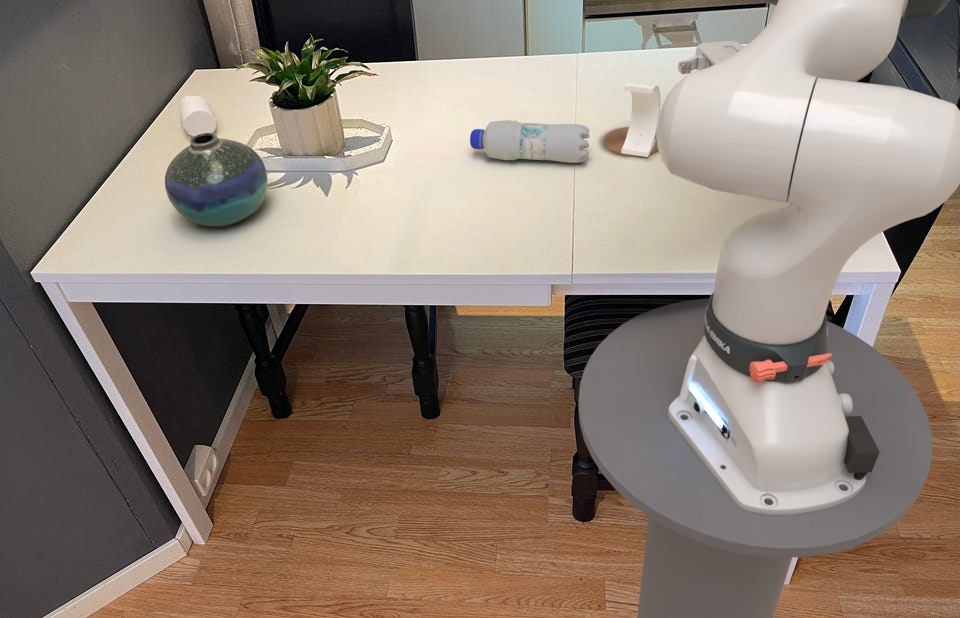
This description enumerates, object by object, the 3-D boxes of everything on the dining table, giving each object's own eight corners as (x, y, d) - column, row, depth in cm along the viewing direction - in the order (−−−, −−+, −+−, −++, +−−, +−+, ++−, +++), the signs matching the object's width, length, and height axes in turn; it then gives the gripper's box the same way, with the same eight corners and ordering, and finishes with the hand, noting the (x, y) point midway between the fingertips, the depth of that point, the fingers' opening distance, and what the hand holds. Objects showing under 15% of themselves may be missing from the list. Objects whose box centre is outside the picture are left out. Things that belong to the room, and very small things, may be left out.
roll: (211, 109, 158) (202, 83, 155) (220, 133, 150) (211, 106, 146) (180, 116, 157) (171, 89, 153) (187, 141, 148) (178, 113, 144)
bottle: (586, 173, 131) (468, 166, 135) (589, 146, 135) (475, 141, 139) (586, 141, 126) (464, 135, 129) (590, 114, 130) (471, 109, 133)
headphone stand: (621, 153, 133) (624, 85, 125) (631, 137, 137) (635, 70, 129) (648, 157, 131) (653, 88, 123) (657, 140, 135) (663, 73, 128)
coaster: (671, 151, 133) (671, 149, 132) (613, 160, 132) (613, 158, 132) (651, 125, 140) (651, 123, 140) (596, 133, 140) (596, 131, 139)
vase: (293, 196, 130) (275, 122, 121) (236, 248, 119) (211, 170, 111) (219, 182, 135) (196, 110, 127) (158, 230, 124) (128, 155, 116)
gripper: (745, 27, 138) (669, 37, 136) (801, 73, 122) (716, 85, 121) (740, 62, 142) (666, 72, 140) (794, 111, 126) (711, 123, 125)
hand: (689, 79), depth 131 cm, fingers open, 8 cm apart
